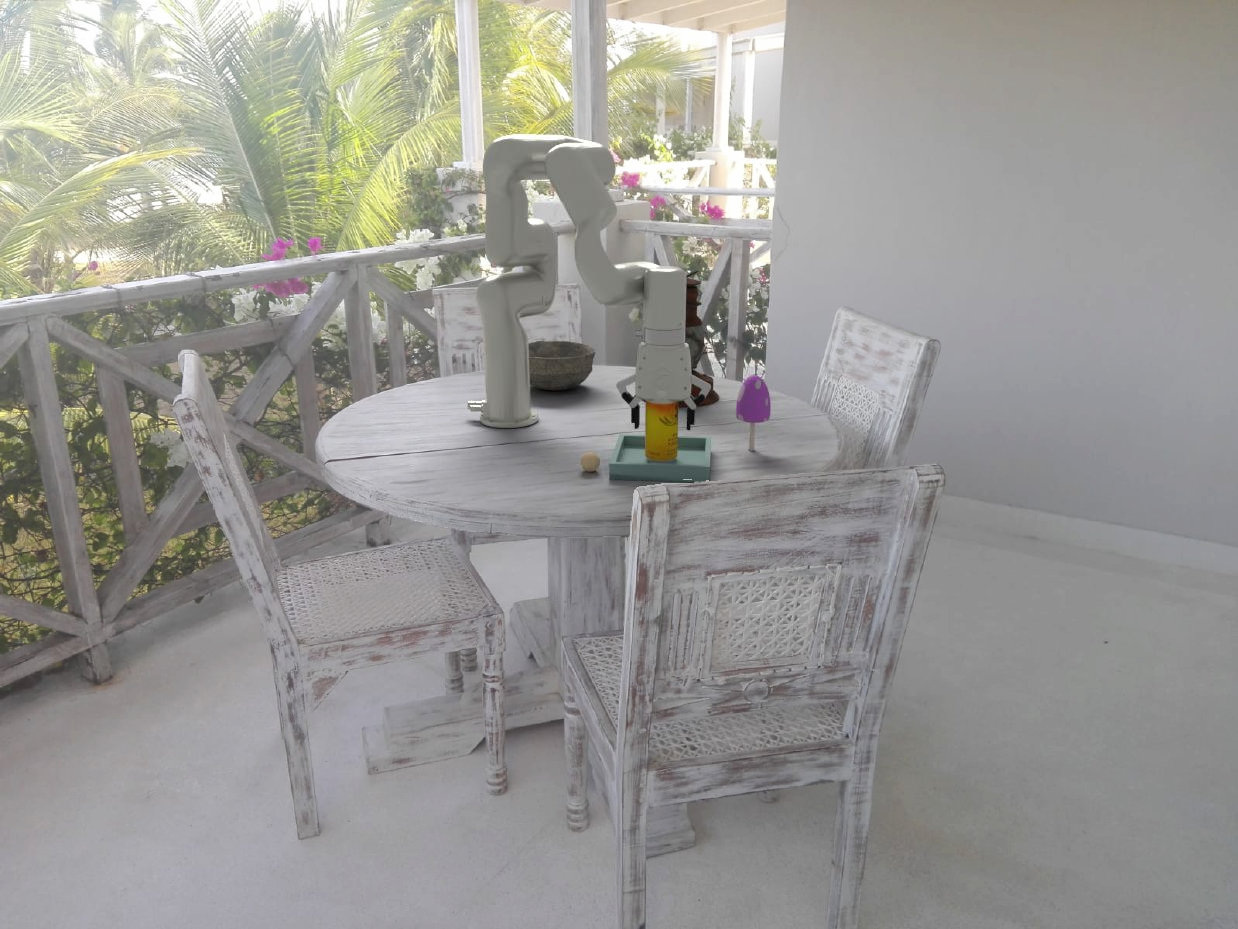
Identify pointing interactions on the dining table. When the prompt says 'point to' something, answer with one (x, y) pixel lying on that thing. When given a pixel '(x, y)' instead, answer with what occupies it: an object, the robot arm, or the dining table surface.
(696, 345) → the lantern
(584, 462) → the cork ball
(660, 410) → the beer can
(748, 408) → the toy
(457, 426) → the dining table surface
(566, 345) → the bowl
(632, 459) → the tray
